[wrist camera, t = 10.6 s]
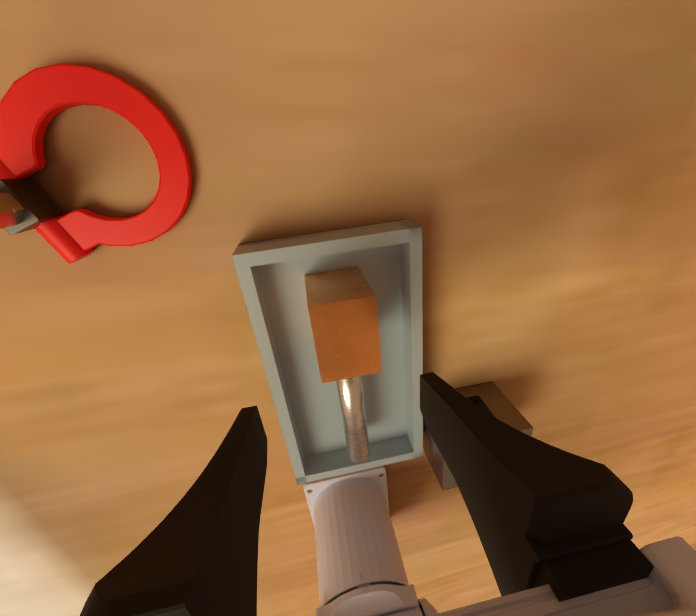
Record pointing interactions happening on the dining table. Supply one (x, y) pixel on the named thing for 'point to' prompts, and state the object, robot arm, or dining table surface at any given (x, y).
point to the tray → (300, 354)
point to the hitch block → (490, 402)
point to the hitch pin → (346, 344)
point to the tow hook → (28, 157)
